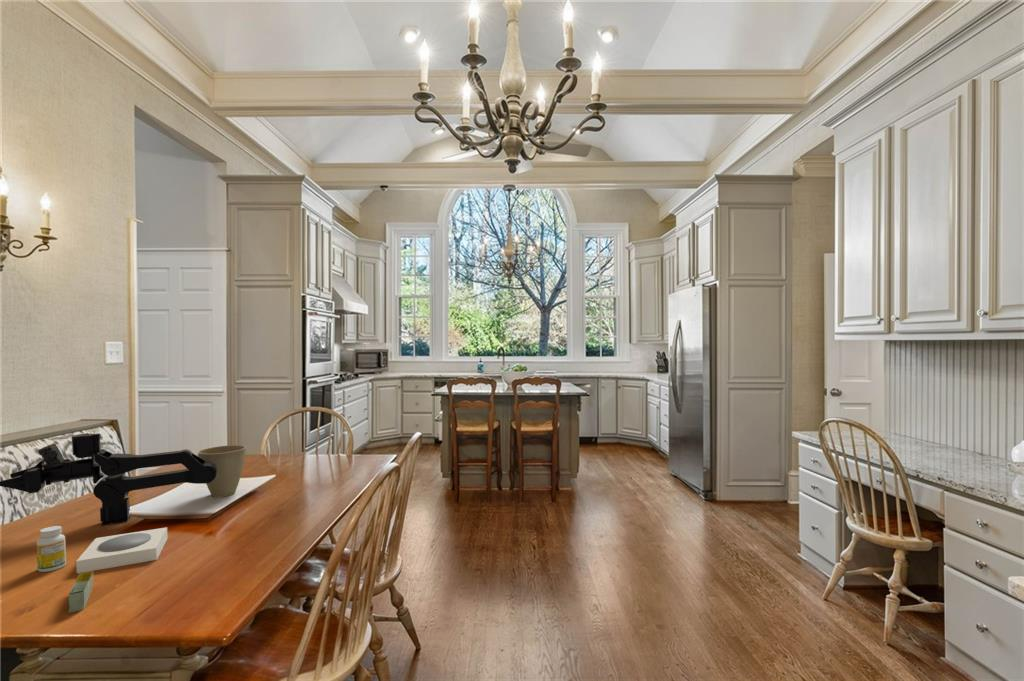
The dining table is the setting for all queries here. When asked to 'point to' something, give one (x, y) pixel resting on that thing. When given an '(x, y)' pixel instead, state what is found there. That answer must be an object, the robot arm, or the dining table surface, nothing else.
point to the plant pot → (224, 468)
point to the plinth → (122, 550)
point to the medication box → (80, 592)
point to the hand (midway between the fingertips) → (4, 479)
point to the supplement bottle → (51, 549)
